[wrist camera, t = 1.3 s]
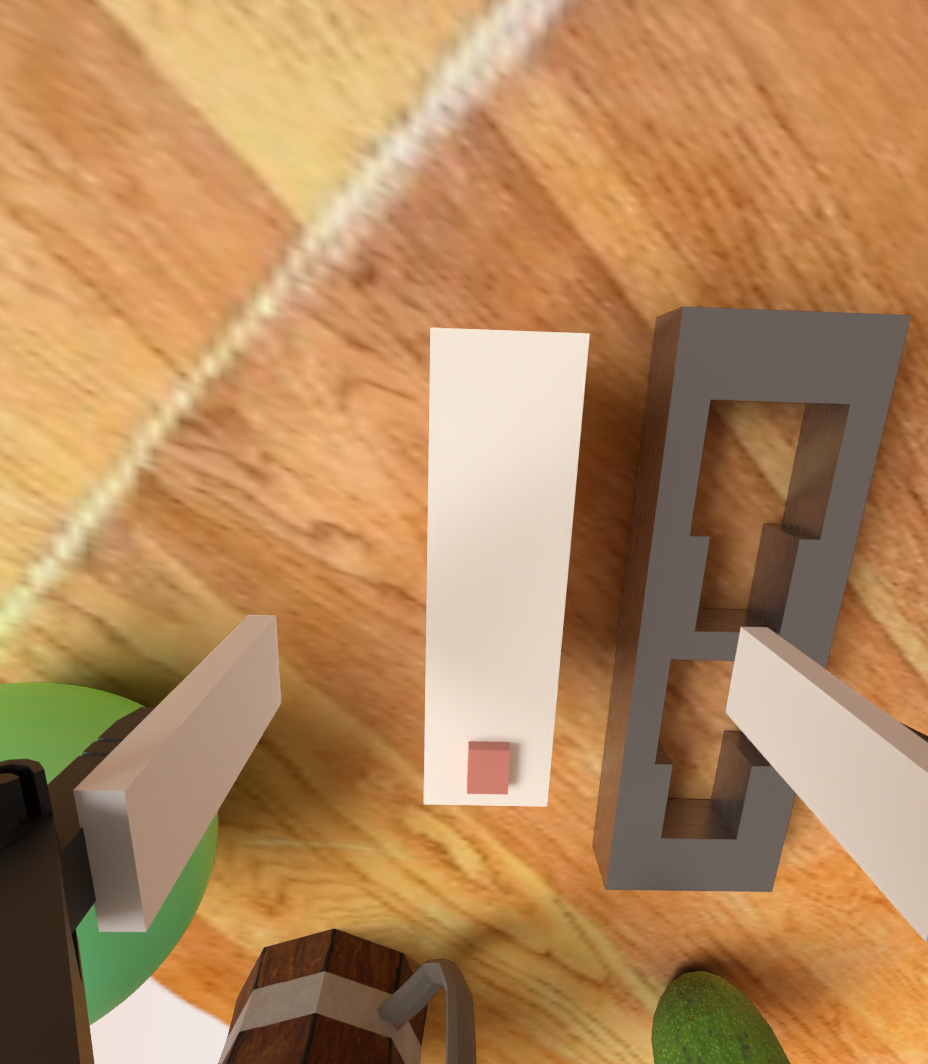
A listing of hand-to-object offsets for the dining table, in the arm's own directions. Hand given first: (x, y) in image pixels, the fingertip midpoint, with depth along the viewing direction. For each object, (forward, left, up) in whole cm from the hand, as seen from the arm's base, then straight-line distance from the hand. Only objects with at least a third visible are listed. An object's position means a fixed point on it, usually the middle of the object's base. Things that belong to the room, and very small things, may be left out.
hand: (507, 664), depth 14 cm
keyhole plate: (+5, +13, -14) cm, 19 cm away
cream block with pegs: (0, 0, -14) cm, 14 cm away
